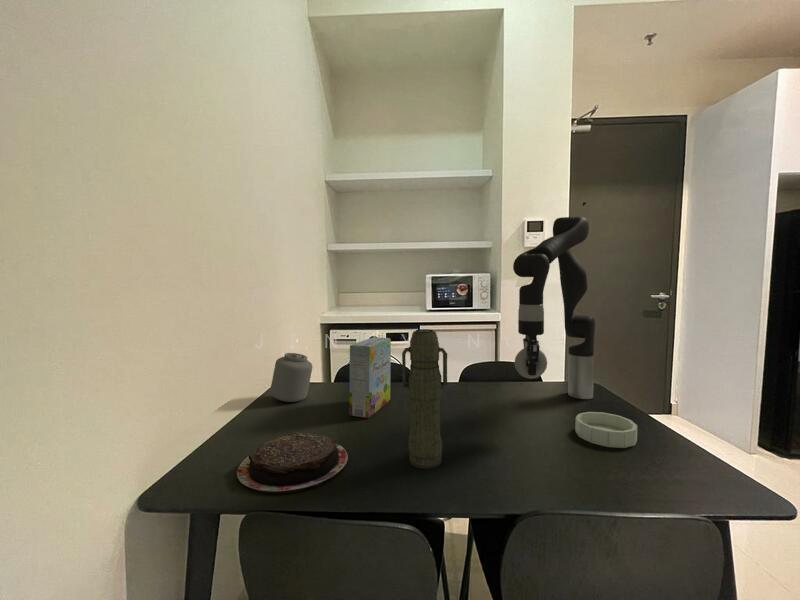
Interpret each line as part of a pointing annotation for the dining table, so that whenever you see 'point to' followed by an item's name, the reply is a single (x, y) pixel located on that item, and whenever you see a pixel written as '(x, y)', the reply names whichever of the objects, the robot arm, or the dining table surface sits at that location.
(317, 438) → the chocolate cake
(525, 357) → the donut
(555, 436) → the dining table surface
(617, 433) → the bowl
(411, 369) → the thermos
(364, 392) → the snack box
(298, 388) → the jar
